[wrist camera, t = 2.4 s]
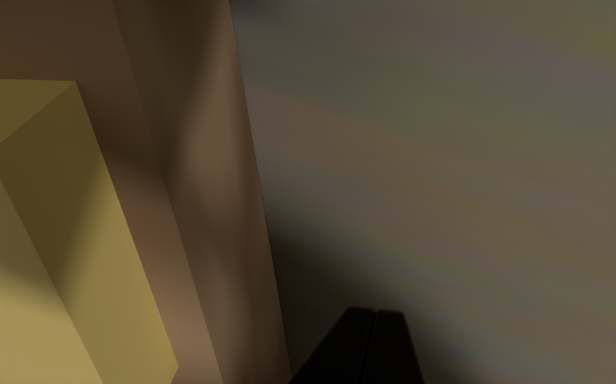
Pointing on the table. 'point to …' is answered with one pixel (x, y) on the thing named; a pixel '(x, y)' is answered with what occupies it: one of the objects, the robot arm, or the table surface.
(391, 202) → the table surface
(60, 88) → the yellow block
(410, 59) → the table surface
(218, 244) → the brown wooden block
